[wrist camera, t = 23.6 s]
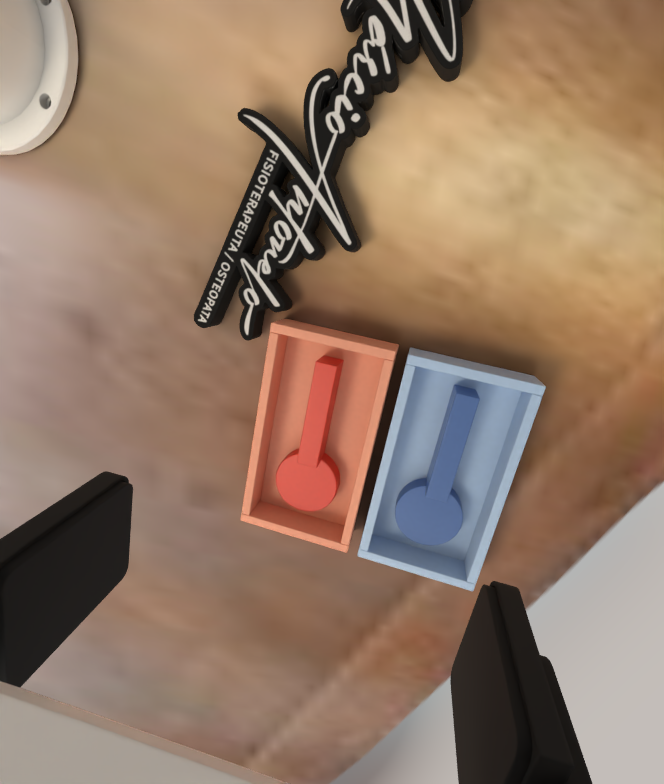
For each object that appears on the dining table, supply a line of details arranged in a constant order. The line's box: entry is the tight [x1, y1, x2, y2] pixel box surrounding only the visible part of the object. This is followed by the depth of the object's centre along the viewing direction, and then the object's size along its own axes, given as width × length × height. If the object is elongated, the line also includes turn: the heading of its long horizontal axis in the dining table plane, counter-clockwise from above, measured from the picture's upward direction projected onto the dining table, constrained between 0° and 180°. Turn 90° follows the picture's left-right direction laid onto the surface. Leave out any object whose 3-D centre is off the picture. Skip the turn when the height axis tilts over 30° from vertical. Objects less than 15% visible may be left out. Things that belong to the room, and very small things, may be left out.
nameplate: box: [194, 0, 473, 340], centre depth 25 cm, size 28×2×10 cm
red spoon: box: [276, 355, 343, 512], centre depth 29 cm, size 11×4×2 cm, turn 169°
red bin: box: [241, 318, 399, 553], centre depth 29 cm, size 14×8×3 cm, turn 169°
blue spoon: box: [395, 385, 480, 546], centre depth 28 cm, size 11×4×2 cm, turn 168°
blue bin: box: [358, 347, 546, 591], centre depth 28 cm, size 14×8×3 cm, turn 169°
